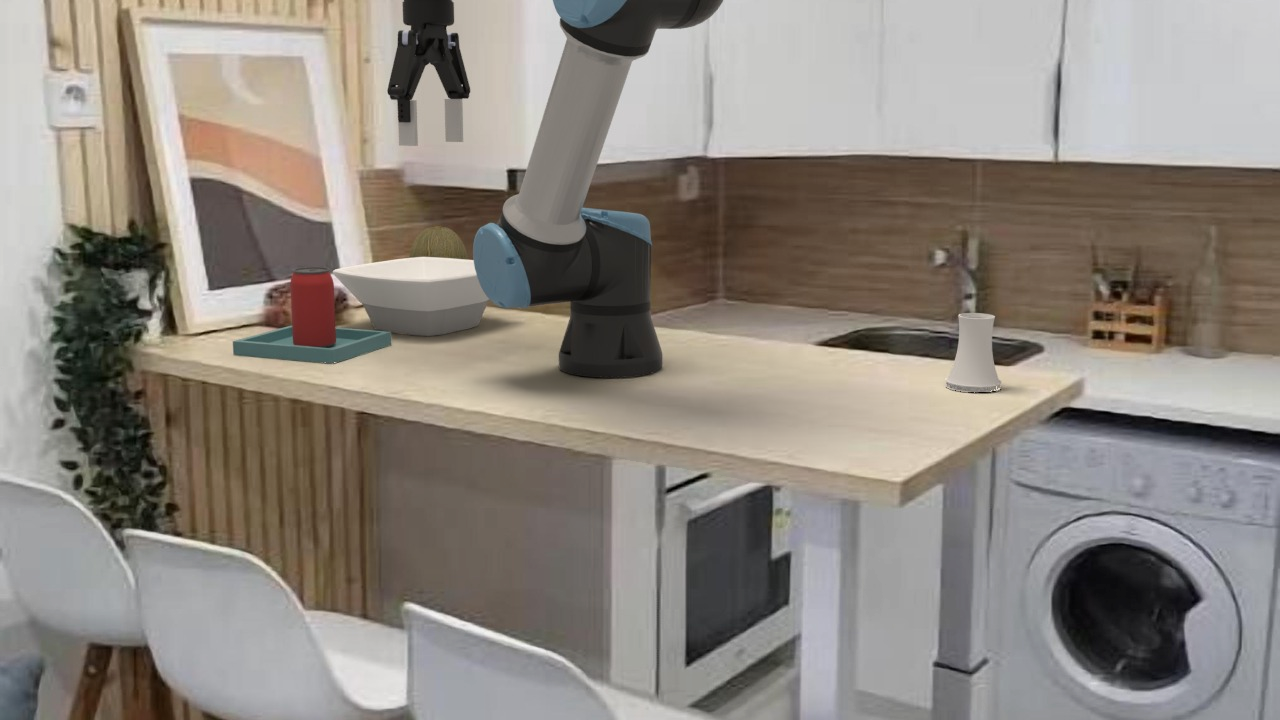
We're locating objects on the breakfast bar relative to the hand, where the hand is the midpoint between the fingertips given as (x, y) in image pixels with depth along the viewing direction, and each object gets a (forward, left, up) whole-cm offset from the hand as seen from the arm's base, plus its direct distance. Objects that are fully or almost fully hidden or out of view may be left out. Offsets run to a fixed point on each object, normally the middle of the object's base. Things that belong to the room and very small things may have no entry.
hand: (432, 143), depth 208 cm
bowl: (+12, -17, -32) cm, 38 cm away
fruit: (+21, -37, -32) cm, 53 cm away
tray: (+18, +7, -32) cm, 37 cm away
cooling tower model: (-81, -5, -32) cm, 87 cm away
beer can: (+18, +7, -31) cm, 37 cm away
